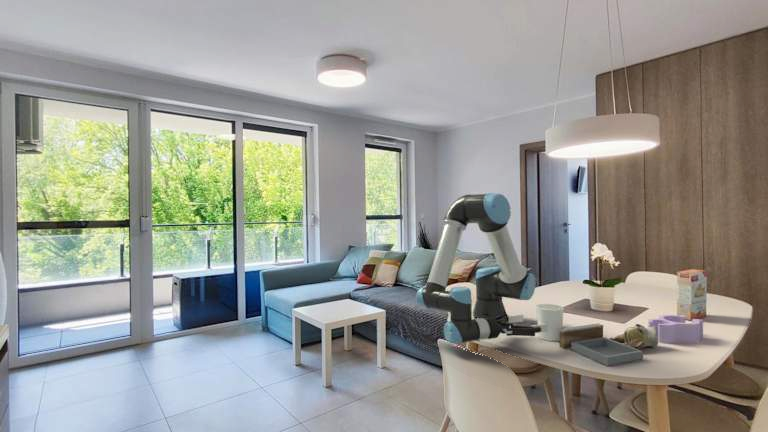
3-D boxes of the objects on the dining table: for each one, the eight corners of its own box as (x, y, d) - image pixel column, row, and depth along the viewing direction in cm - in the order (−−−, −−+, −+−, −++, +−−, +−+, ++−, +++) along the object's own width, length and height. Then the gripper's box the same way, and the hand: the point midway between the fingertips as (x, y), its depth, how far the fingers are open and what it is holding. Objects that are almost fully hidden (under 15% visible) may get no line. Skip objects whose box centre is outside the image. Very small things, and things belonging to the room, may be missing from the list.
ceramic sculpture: (667, 326, 133) (628, 331, 132) (669, 350, 133) (630, 356, 132) (643, 317, 144) (606, 322, 142) (645, 340, 144) (608, 345, 142)
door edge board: (559, 346, 140) (558, 328, 140) (598, 340, 145) (598, 323, 145) (564, 349, 138) (563, 330, 137) (603, 342, 143) (603, 325, 143)
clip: (670, 346, 138) (670, 327, 138) (638, 336, 150) (638, 318, 150) (710, 340, 144) (710, 321, 144) (676, 330, 156) (676, 313, 156)
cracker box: (692, 321, 167) (691, 273, 166) (676, 318, 172) (676, 271, 172) (707, 316, 173) (707, 270, 173) (692, 313, 179) (691, 268, 178)
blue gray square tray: (571, 350, 136) (571, 342, 136) (604, 345, 141) (604, 337, 141) (607, 366, 122) (607, 357, 122) (643, 360, 126) (643, 351, 126)
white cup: (541, 332, 157) (540, 302, 157) (567, 336, 151) (566, 306, 150) (533, 338, 149) (532, 307, 149) (560, 343, 143) (559, 311, 143)
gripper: (468, 328, 153) (514, 323, 159) (505, 350, 129) (557, 342, 135) (468, 310, 153) (513, 305, 159) (505, 328, 129) (557, 321, 135)
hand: (534, 322), depth 147 cm, fingers open, 13 cm apart
